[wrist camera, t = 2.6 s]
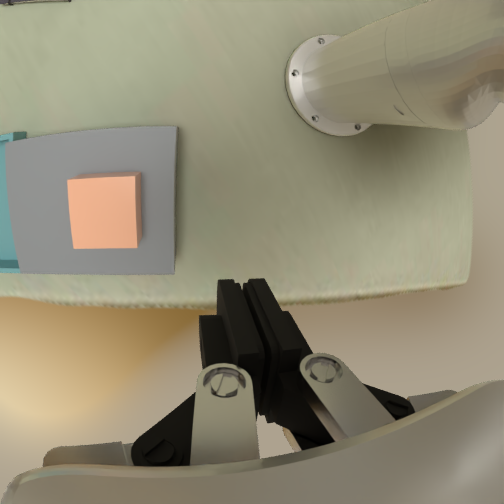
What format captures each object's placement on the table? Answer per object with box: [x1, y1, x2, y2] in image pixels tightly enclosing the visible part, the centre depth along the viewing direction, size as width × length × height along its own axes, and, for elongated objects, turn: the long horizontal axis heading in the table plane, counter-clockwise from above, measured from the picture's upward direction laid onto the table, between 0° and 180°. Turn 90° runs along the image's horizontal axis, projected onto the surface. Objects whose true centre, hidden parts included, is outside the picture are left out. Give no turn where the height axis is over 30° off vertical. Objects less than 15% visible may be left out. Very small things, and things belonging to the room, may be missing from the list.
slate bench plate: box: [5, 126, 178, 275], centre depth 25 cm, size 18×14×5 cm
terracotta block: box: [67, 172, 142, 249], centre depth 22 cm, size 6×6×3 cm
